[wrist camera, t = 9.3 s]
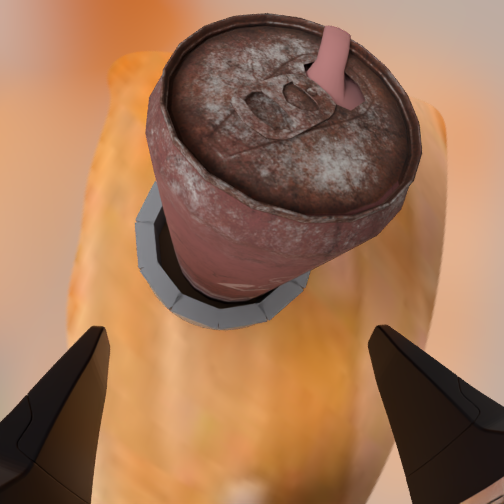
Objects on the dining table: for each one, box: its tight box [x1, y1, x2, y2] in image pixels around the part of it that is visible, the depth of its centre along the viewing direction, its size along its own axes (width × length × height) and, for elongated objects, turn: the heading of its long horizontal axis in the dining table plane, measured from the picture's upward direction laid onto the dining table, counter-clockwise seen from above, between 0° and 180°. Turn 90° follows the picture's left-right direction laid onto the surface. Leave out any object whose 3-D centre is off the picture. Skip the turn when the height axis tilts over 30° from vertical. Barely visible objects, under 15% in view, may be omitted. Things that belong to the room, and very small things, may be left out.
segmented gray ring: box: [135, 181, 311, 330], centre depth 18 cm, size 10×10×4 cm
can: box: [146, 13, 422, 304], centre depth 12 cm, size 6×6×14 cm
